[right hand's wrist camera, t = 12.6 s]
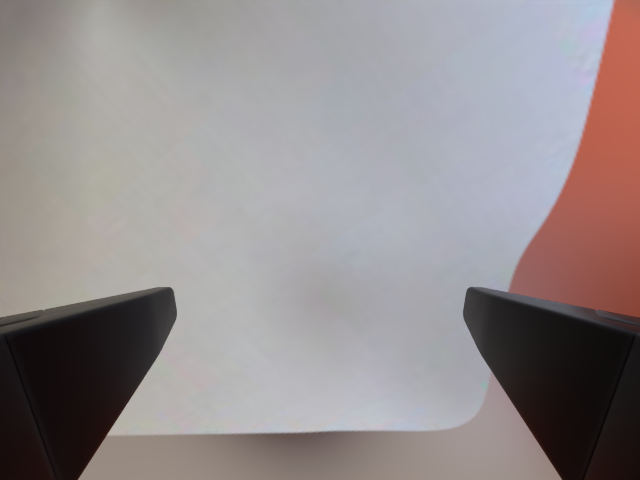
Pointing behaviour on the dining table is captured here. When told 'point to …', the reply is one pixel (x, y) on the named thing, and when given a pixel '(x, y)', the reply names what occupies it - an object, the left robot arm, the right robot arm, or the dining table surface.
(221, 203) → the dining table surface
